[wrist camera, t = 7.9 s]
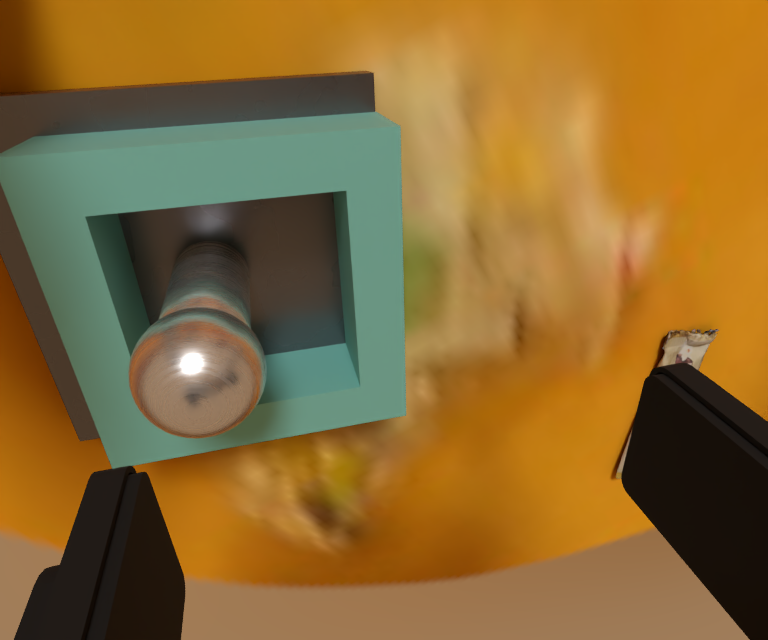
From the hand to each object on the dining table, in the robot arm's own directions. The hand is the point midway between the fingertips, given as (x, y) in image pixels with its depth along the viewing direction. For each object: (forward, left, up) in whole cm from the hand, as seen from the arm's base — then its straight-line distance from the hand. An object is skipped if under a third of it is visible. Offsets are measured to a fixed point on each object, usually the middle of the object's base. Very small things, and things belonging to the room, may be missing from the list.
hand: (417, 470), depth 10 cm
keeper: (+4, 0, -12) cm, 12 cm away
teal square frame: (+3, 0, -11) cm, 11 cm away
